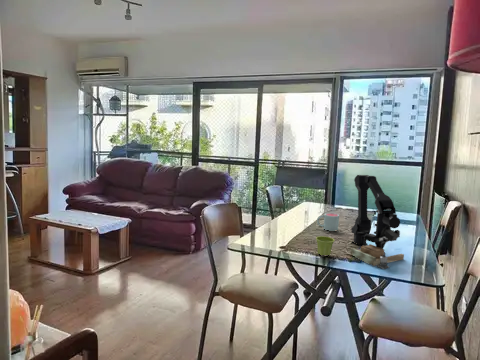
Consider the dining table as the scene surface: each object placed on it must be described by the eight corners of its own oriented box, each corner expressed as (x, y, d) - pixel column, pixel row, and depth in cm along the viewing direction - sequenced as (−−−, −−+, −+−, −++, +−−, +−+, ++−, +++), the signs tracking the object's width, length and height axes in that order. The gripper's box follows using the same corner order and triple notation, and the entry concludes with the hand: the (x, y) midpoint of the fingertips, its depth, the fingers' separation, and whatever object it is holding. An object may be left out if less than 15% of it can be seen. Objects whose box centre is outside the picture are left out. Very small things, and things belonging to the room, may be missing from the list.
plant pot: (330, 252, 194) (331, 236, 192) (335, 258, 184) (336, 242, 183) (312, 251, 193) (313, 235, 192) (317, 258, 184) (318, 241, 183)
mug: (336, 228, 241) (337, 213, 239) (339, 232, 232) (340, 216, 230) (315, 226, 242) (316, 212, 241) (317, 230, 233) (318, 215, 231)
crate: (359, 257, 187) (360, 245, 187) (370, 254, 191) (371, 243, 191) (372, 262, 181) (373, 250, 180) (383, 259, 184) (384, 248, 184)
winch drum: (376, 266, 176) (378, 252, 175) (382, 265, 178) (383, 250, 177) (383, 269, 172) (384, 254, 171) (389, 268, 174) (390, 253, 173)
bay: (350, 255, 189) (350, 248, 188) (379, 250, 200) (380, 243, 199) (373, 265, 176) (374, 258, 176) (403, 259, 187) (404, 251, 186)
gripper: (383, 229, 175) (380, 260, 177) (408, 224, 184) (405, 254, 186) (365, 223, 184) (362, 253, 187) (389, 219, 193) (387, 248, 196)
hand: (379, 252), depth 188 cm, fingers closed
